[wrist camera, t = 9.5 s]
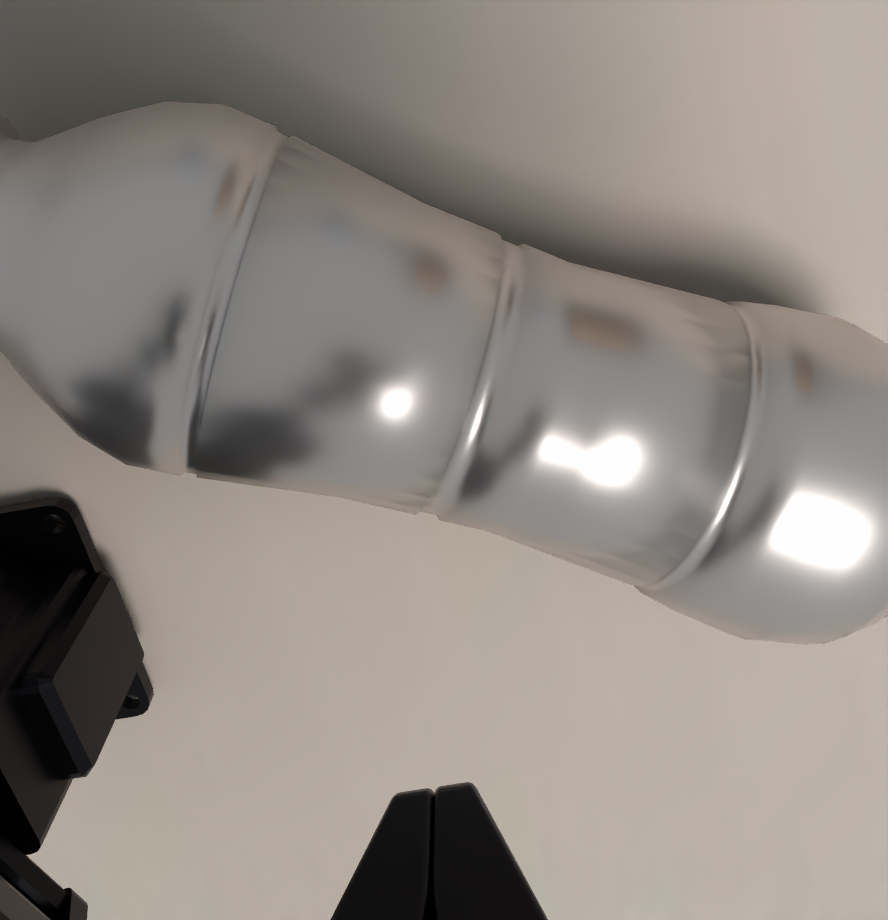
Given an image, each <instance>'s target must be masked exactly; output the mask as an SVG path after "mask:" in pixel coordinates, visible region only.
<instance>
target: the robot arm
mask: <svg viewBox="0 0 888 920" xmlns="http://www.w3.org/2000/svg"><path fill="white" fill-rule="evenodd" d="M49 514H50V515H57V516H58V517H60V518H61V519H62V520H63V521H64V525H58V524H56V523H54V522H53V521H52V520H51V519H50V518H49ZM143 657H144V652H143V649H142V647H141V644H140V642H139V639H138V637H137V635H136V632H135V630H134V627H133V625H132V622H131V620H130V617H129V615H128V613H127V610H126V608H125V605H124V603H123V600H122V598H121V596H120V593H119V591H118V588H117V586H116V583H115V581H114V579H113V578H112V577H111V576H110V575H109V574H108V573H106V572H104V570H103V567H102V565H101V562H100V560H99V557H98V555H97V553H96V550H95V548H94V545H93V543H92V540H91V538H90V536H89V533H88V531H87V528H86V526H85V524H84V521H83V519H82V516H81V514H80V512H79V510H78V509H77V507H76V506H75V505H74V504H73V503H71V502H70V501H69V500H66V499H63V498H47V499H42V500H36V501H30V502H24V503H18V504H13V505H7V506H1V507H0V920H87V910H88V905H87V903H86V902H85V901H84V900H83V899H82V898H81V897H80V896H79V895H77V894H76V893H75V892H74V891H73V890H72V889H70V888H66V889H63V888H62V887H61V886H59V885H58V884H57V883H56V882H55V881H54V880H53V879H52V878H51V877H50V876H48V875H47V874H46V873H45V872H44V871H43V870H42V869H41V868H40V867H39V866H37V865H36V864H35V863H34V862H33V861H32V860H31V859H30V858H29V857H28V856H26V855H28V854H33V853H35V852H38V850H39V849H40V847H41V845H42V843H43V841H44V839H45V837H46V835H47V833H48V830H49V828H50V826H51V824H52V822H53V820H54V818H55V816H56V814H57V811H58V809H59V807H60V805H61V803H62V801H63V799H64V797H65V795H66V792H67V790H68V788H69V786H70V784H71V782H72V780H73V779H74V778H80V777H86V776H87V775H88V774H89V772H90V771H91V769H92V768H93V766H94V765H95V763H96V761H97V759H98V756H99V754H100V752H101V750H102V748H103V745H104V743H105V741H106V739H107V737H108V734H109V732H110V730H111V728H112V726H113V723H114V721H115V719H121V718H128V717H134V716H138V715H141V714H143V713H145V712H146V711H147V710H148V707H149V705H150V703H151V700H152V697H153V695H154V693H153V688H152V686H151V683H150V681H149V678H148V676H147V673H146V671H145V669H144V666H143V664H142V659H143ZM127 694H132V695H134V696H137V697H138V699H132V698H130V697H128V696H127ZM331 920H548V919H547V917H546V915H545V913H544V911H543V910H542V908H541V906H540V904H539V902H538V900H537V899H536V897H535V895H534V893H533V891H532V889H531V888H530V886H529V884H528V882H527V880H526V878H525V876H524V875H523V873H522V871H521V869H520V867H519V865H518V864H517V862H516V860H515V858H514V856H513V854H512V853H511V851H510V849H509V847H508V845H507V843H506V842H505V840H504V838H503V836H502V834H501V832H500V831H499V829H498V827H497V825H496V823H495V821H494V819H493V818H492V816H491V814H490V812H489V810H488V808H487V807H486V805H485V803H484V801H483V799H482V797H481V796H480V794H479V792H478V790H477V788H476V787H475V786H474V785H473V784H472V783H470V782H466V783H459V784H453V785H446V786H440V787H438V788H437V789H436V791H435V793H434V792H433V791H432V790H430V789H427V788H426V789H420V790H413V791H406V792H400V793H397V794H396V795H395V796H394V797H393V798H392V800H391V801H390V803H389V805H388V807H387V809H386V811H385V813H384V815H383V817H382V819H381V821H380V823H379V825H378V827H377V829H376V831H375V833H374V835H373V837H372V839H371V841H370V843H369V845H368V847H367V849H366V851H365V853H364V855H363V857H362V859H361V861H360V863H359V865H358V867H357V869H356V870H355V872H354V874H353V876H352V878H351V880H350V882H349V884H348V886H347V888H346V890H345V892H344V894H343V896H342V898H341V900H340V902H339V904H338V906H337V908H336V910H335V912H334V914H333V916H332V918H331Z"/></svg>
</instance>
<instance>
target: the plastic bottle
mask: <svg viewBox="0 0 888 920" xmlns="http://www.w3.org/2000/svg"><path fill="white" fill-rule="evenodd" d="M0 351H1V352H2V354H3V355H4V356H5V357H6V358H7V360H8V361H9V362H10V363H11V364H12V366H13V367H14V368H15V369H16V371H17V372H18V373H19V374H20V375H21V377H22V378H23V379H24V380H25V381H26V383H27V384H28V385H29V386H30V388H31V389H32V390H33V391H34V392H35V393H36V394H37V395H38V396H39V397H40V398H41V399H42V400H43V401H44V402H45V403H46V404H47V405H48V406H49V407H50V408H51V409H52V410H53V411H54V412H55V413H56V414H57V415H58V416H59V417H60V418H61V419H62V420H63V421H64V422H65V423H66V424H67V425H68V426H69V427H70V428H71V429H72V430H73V431H74V432H75V433H76V434H77V435H78V436H79V437H81V438H83V439H84V440H86V441H88V442H89V443H91V444H93V445H94V446H96V447H98V448H99V449H101V450H103V451H104V452H106V453H108V454H109V455H111V456H113V457H114V458H116V459H118V460H119V461H121V462H123V463H124V464H126V465H131V466H136V467H141V468H146V469H151V470H156V471H160V472H165V473H169V474H174V475H179V476H181V475H182V474H183V473H184V472H186V473H194V474H196V475H197V478H204V479H211V480H219V481H226V482H234V483H241V484H248V485H256V486H263V487H270V488H278V489H285V490H292V491H300V492H307V493H314V494H322V495H329V496H336V497H341V498H345V499H350V500H354V501H358V502H363V503H367V504H371V505H376V506H380V507H384V508H389V509H393V510H397V511H402V512H406V513H410V514H415V515H416V514H418V513H419V512H420V511H421V512H425V513H429V514H434V515H437V517H438V519H439V520H441V521H445V522H450V523H454V524H459V525H463V526H468V527H472V528H476V529H481V530H485V531H488V532H491V533H493V534H496V535H499V536H501V537H504V538H507V539H509V540H512V541H515V542H517V543H520V544H523V545H525V546H528V547H531V548H533V549H536V550H539V551H541V552H544V553H547V554H549V555H552V556H555V557H557V558H560V559H563V560H565V561H568V562H571V563H573V564H576V565H579V566H581V567H584V568H587V569H589V570H592V571H595V572H597V573H600V574H603V575H605V576H608V577H611V578H613V579H616V580H619V581H621V582H624V583H627V584H631V585H633V586H635V587H636V588H637V589H638V590H639V591H640V592H641V593H643V594H644V595H646V596H648V597H650V598H652V599H654V600H655V601H657V602H659V603H661V604H663V605H665V606H667V607H668V608H670V609H672V610H674V611H676V612H679V613H681V614H683V615H686V616H688V617H690V618H693V619H695V620H697V621H700V622H702V623H704V624H707V625H709V626H711V627H714V628H716V629H718V630H721V631H723V632H725V633H728V634H731V635H734V636H737V637H740V638H743V639H750V640H762V641H773V642H785V643H796V644H825V643H828V642H830V641H833V640H836V639H839V638H842V637H845V636H848V635H850V634H852V633H854V632H857V631H859V630H861V629H863V628H866V627H868V626H870V625H873V624H875V623H876V622H878V621H880V620H881V619H883V618H884V617H886V616H887V615H888V344H887V343H885V342H883V341H882V340H880V339H878V338H877V337H875V336H873V335H871V334H870V333H868V332H866V331H865V330H863V329H861V328H860V327H858V326H856V325H854V324H852V323H850V322H847V321H844V320H842V319H839V318H836V317H831V316H827V315H822V314H817V313H812V312H807V311H802V310H797V309H792V308H787V307H782V306H777V305H769V304H760V303H751V302H741V301H734V302H722V301H720V300H716V299H713V298H709V297H705V296H701V295H697V294H693V293H689V292H685V291H681V290H677V289H673V288H669V287H665V286H661V285H657V284H653V283H649V282H645V281H641V280H637V279H633V278H630V277H626V276H622V275H618V274H614V273H610V272H606V271H602V270H598V269H594V268H590V267H586V266H582V265H578V264H574V263H570V262H567V261H565V260H563V259H560V258H558V257H555V256H553V255H550V254H548V253H545V252H543V251H541V250H538V249H536V248H533V247H531V246H528V245H526V244H521V245H518V246H516V245H514V244H512V243H509V242H507V241H504V240H502V239H501V236H500V235H499V234H498V233H496V232H494V231H491V230H489V229H486V228H484V227H482V226H479V225H477V224H474V223H472V222H469V221H467V220H464V219H462V218H459V217H457V216H454V215H452V214H449V213H447V212H444V211H442V210H439V209H437V208H435V207H432V206H430V205H427V204H425V203H422V202H420V201H419V200H417V199H415V198H413V197H411V196H409V195H407V194H405V193H403V192H401V191H399V190H397V189H395V188H393V187H391V186H390V185H388V184H386V183H384V182H382V181H380V180H378V179H376V178H374V177H372V176H370V175H368V174H366V173H364V172H362V171H361V170H359V169H357V168H355V167H353V166H351V165H349V164H347V163H345V162H343V161H341V160H339V159H337V158H335V157H333V156H332V155H330V154H328V153H326V152H324V151H322V150H320V149H318V148H316V147H314V146H312V145H310V144H308V143H306V142H305V141H303V140H301V139H299V138H297V137H295V136H290V138H289V137H287V136H285V135H283V134H281V133H279V132H278V131H277V128H276V126H274V125H272V124H269V123H267V122H264V121H262V120H260V119H257V118H255V117H252V116H250V115H248V114H245V113H243V112H241V111H239V110H236V109H234V108H232V107H230V106H227V105H222V104H206V103H188V102H170V101H165V102H161V103H157V104H153V105H149V106H145V107H141V108H137V109H133V110H129V111H125V112H121V113H117V114H113V115H109V116H105V117H102V118H99V119H96V120H94V121H91V122H88V123H86V124H83V125H80V126H77V127H75V128H72V129H69V130H67V131H64V132H61V133H59V134H56V135H53V136H50V137H48V138H45V139H42V140H40V141H37V142H28V141H21V140H19V137H18V135H17V132H16V130H15V128H14V127H13V126H12V124H11V123H10V122H9V120H7V119H5V118H4V117H2V116H0Z"/></svg>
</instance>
